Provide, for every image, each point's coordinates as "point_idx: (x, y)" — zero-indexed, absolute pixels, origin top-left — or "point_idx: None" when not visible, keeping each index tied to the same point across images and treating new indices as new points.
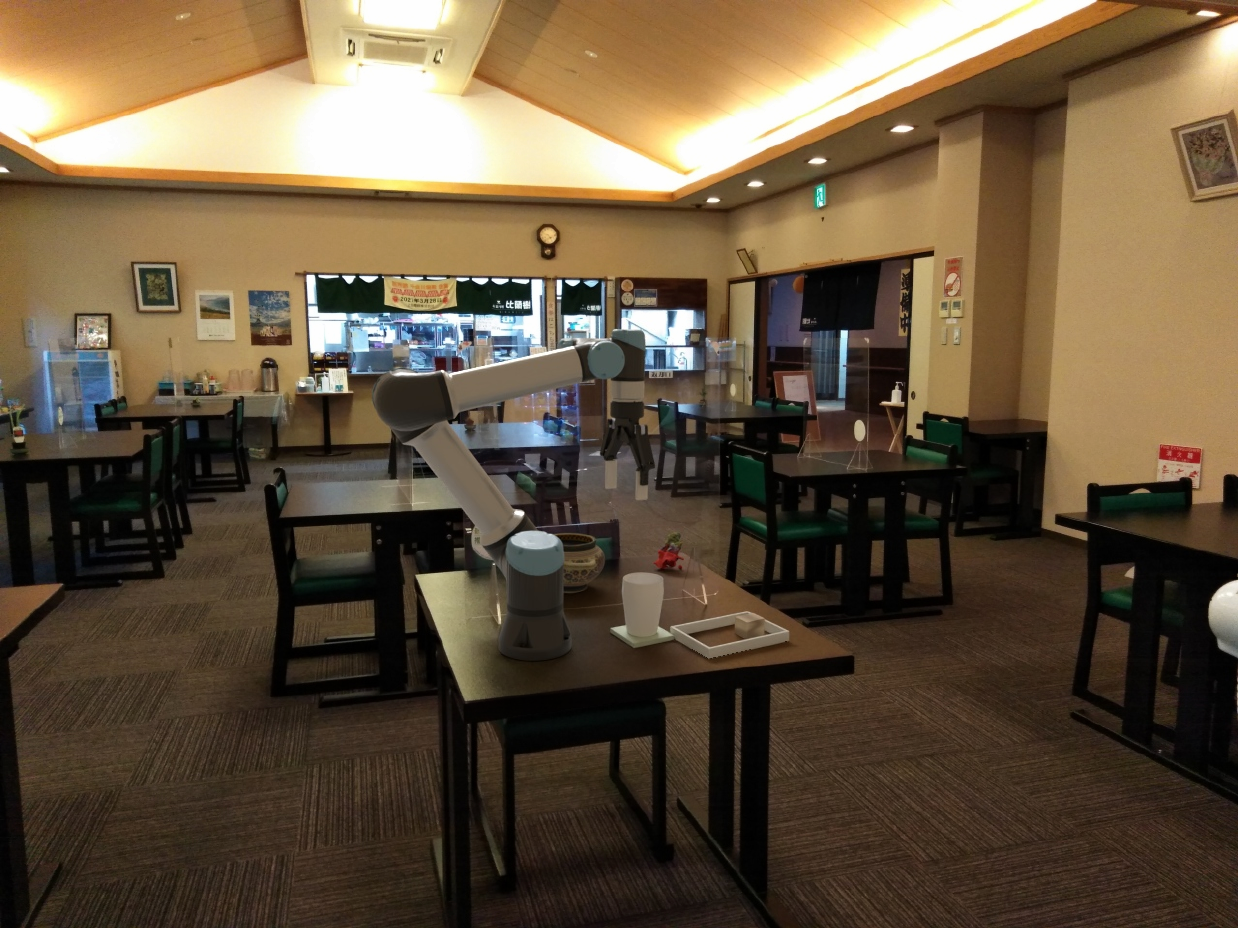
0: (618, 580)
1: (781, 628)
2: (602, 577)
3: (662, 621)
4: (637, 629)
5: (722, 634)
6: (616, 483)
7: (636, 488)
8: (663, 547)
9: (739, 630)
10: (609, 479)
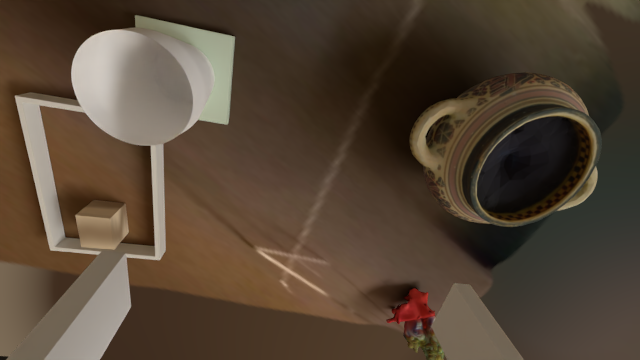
0: (427, 219)
1: (66, 249)
2: None
3: (230, 151)
4: (155, 45)
5: (129, 186)
6: (442, 347)
7: (61, 313)
8: (430, 324)
9: (108, 206)
10: (475, 342)
